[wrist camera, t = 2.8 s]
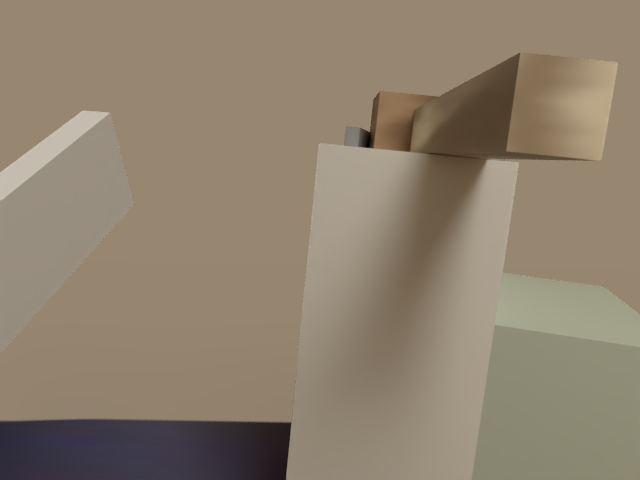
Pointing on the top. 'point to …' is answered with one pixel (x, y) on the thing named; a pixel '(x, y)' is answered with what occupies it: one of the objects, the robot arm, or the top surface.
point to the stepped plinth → (450, 335)
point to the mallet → (505, 113)
